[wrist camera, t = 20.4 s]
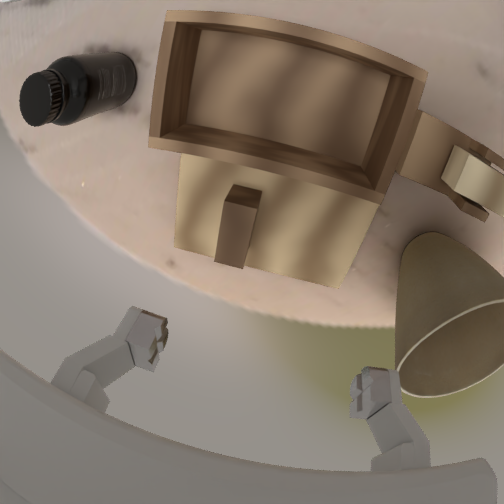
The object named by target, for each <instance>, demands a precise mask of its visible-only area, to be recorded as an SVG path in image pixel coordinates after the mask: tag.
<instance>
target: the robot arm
mask: <svg viewBox="0 0 504 504" xmlns="http://www.w3.org/2000/svg"><path fill="white" fill-rule="evenodd" d="M167 323H168V321H167V318H165V317H162V316H159V315H157V314H154V313H151V312H148V311H145V310H143V309H140V308H137V307H134V306H132V307H131V308H129V310H128V311H127V313H126V315H125V316H124V318H123V320H122V321H121V323H120V324H119V326H118V328H117V330H116V331H115V333H114V335H113V336H111V335H109V336H107V337H105V338H103V339H101V340H99V341H97V342H96V343H93V344H91V345H89V346H88V347H86V348H84V349H82V350H80V351H78V352H76V353H74V354H72V355H70V356H69V357H67V358H65V359H64V361H63V363H62V364H61V366H60V368H59V369H58V371H57V373H56V375H55V376H54V378H53V380H52V381H51V383H49V382H47V381H46V380H44V379H43V378H41V377H39V376H38V375H36V374H35V373H33V372H32V371H30V370H29V369H27V368H26V367H25V366H23V365H22V364H20V363H19V362H17V361H16V360H15V359H13V358H12V357H11V356H9V355H8V354H7V353H5V352H4V351H3V350H2V349H0V504H497V478H496V475H495V473H494V471H493V469H492V468H491V466H490V465H489V463H488V462H487V461H486V459H484V458H477V459H472V460H468V461H463V462H458V463H452V464H447V465H441V466H434V467H431V466H430V445H429V440H428V438H427V437H426V435H425V434H424V432H423V431H422V429H421V428H420V426H419V425H418V423H417V422H416V420H415V419H414V417H413V416H412V414H411V413H410V411H409V410H408V408H407V407H406V405H405V404H402V396H401V387H400V378H399V373H398V371H397V370H390V369H385V368H377V367H370V366H366V367H364V368H363V369H362V373H361V374H359V375H356V376H355V378H354V379H353V381H352V383H351V387H350V396H351V397H352V399H353V401H352V402H351V403H350V418H358V419H367V420H366V421H367V423H368V425H369V427H370V429H371V431H372V433H373V435H374V437H375V440H376V442H377V444H378V446H379V448H380V450H381V452H382V454H380V455H378V456H376V457H374V458H373V459H372V460H371V471H370V472H352V471H326V470H313V469H302V468H293V467H285V466H277V465H271V464H265V463H259V462H254V461H249V460H244V459H239V458H234V457H229V456H225V455H222V454H217V453H214V452H210V451H206V450H202V449H199V448H195V447H192V446H188V445H185V444H182V443H179V442H176V441H173V440H170V439H167V438H164V437H161V436H159V435H156V434H153V433H151V432H148V431H145V430H143V429H140V428H138V427H135V426H133V425H130V424H128V423H126V422H123V421H121V420H119V419H117V418H114V417H112V416H110V415H108V414H106V413H105V411H106V409H107V407H108V404H109V402H110V401H109V398H108V397H107V395H106V393H105V392H104V390H103V389H104V388H105V387H106V386H108V385H109V384H111V383H112V382H113V381H115V380H117V379H118V378H120V377H121V376H122V375H124V374H125V373H126V372H128V371H129V370H131V369H132V368H134V367H135V366H137V367H140V368H143V369H146V370H149V371H152V372H154V370H155V368H156V365H157V363H158V361H159V353H160V352H162V351H163V350H164V348H165V345H166V342H167V338H168V329H167V328H166V326H167Z"/></svg>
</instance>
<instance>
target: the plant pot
mask: <svg viewBox="0 0 504 504" xmlns="http://www.w3.org/2000/svg"><path fill="white" fill-rule="evenodd" d="M503 365H504V278H503V277H502V276H501V274H500V273H498V272H497V271H496V270H495V269H494V268H493V267H492V266H491V265H490V264H489V263H487V262H486V261H485V260H484V259H483V258H481V257H480V256H479V255H477V254H476V253H475V252H473V251H472V250H470V249H469V248H467V247H466V246H464V245H463V244H461V243H459V242H457V241H456V240H454V239H452V238H450V237H448V236H445V235H443V234H441V233H437V232H428V233H424V234H422V235H419V236H418V237H416V238H415V239H413V240H412V241H411V242H410V243H409V244H408V245H407V247H406V248H405V250H404V252H403V255H402V259H401V265H400V271H399V279H398V289H397V302H396V322H395V370H397V371H398V373H399V378H400V387H401V391H403V392H404V393H406V394H409V395H411V396H415V397H423V398H428V397H440V396H445V395H449V394H453V393H456V392H459V391H462V390H464V389H467V388H469V387H471V386H473V385H475V384H477V383H479V382H481V381H482V380H484V379H486V378H487V377H489V376H490V375H492V374H493V373H495V372H496V371H497V370H499V369H500V368H501V367H502V366H503Z"/></svg>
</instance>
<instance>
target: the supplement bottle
mask: <svg viewBox="0 0 504 504" xmlns="http://www.w3.org/2000/svg"><path fill="white" fill-rule="evenodd" d="M135 79H136V76H135V69H134V66H133V64H132V62H131V61H130V60H129V58H128V57H126V56H125V55H123V54H121V53H117V52H104V53H91V54H81V55H72V56H66V57H62V58H59V59H57V60H56V61H54V62H53V63H52V64H51V65H50V66H49V67H48V68H47V69H46V70H43V71H41V72H37V73H33V74H32V75H30V76H29V77H28V78H27V79H26V81H25V82H24V84H23V86H22V89H21V91H20V100H19V102H20V111H21V113H22V116H23V118H24V119H25V121H26V122H27V123H28V124H29V125H31V126H34V127H36V126H41V125H44V124H46V123H53V124H56V125H60V126H66V125H70V124H73V123H75V122H78V121H80V120H83V119H85V118H88V117H91V116H93V115H96V114H99V113H101V112H104V111H107V110H110V109H113V108H115V107H118V106H120V105H121V104H123V103H124V102H125V101H126V100H127V99H128V98H129V96H130V95H131V93H132V91H133V88H134V85H135Z"/></svg>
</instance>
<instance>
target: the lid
mask: <svg viewBox="0 0 504 504" xmlns="http://www.w3.org/2000/svg"><path fill="white" fill-rule="evenodd" d="M378 207H379V204H376V203H373V202H370V201H367V200H364V199H361V198H358V197H355V196H352V195H349V194H345V193H342V192H339V191H336V190H332V189H329V188H326V187H322V186H319V185H315V184H312V183H308V182H305V181H301V180H297V179H294V178H290V177H286V176H282V175H279V174H275V173H271V172H267V171H263V170H259V169H254V168H250V167H246V166H242V165H237V164H233V163H228V162H224V161H219V160H214V159H209V158H205V157H200V156H194V155H189V154H184V153H181V159H180V169H179V180H178V192H177V205H176V220H175V237H174V247H175V248H179V249H183V250H186V251H190V252H194V253H198V254H202V255H206V256H209V257H213V258H215V260H214V262H218V263H221V264H225V265H229V266H233V267H237V268H241V269H243V267H244V266H248V267H252V268H256V269H260V270H264V271H268V272H272V273H276V274H280V275H284V276H288V277H292V278H296V279H300V280H304V281H308V282H312V283H316V284H320V285H324V286H329V287H333V288H337V289H339V287H340V285H341V283H342V281H343V280H344V278H345V276H346V274H347V272H348V270H349V268H350V266H351V264H352V262H353V260H354V258H355V256H356V254H357V252H358V250H359V248H360V246H361V244H362V242H363V239H364V237H365V235H366V233H367V231H368V229H369V227H370V224H371V222H372V220H373V218H374V216H375V213H376V211H377V209H378Z"/></svg>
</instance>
